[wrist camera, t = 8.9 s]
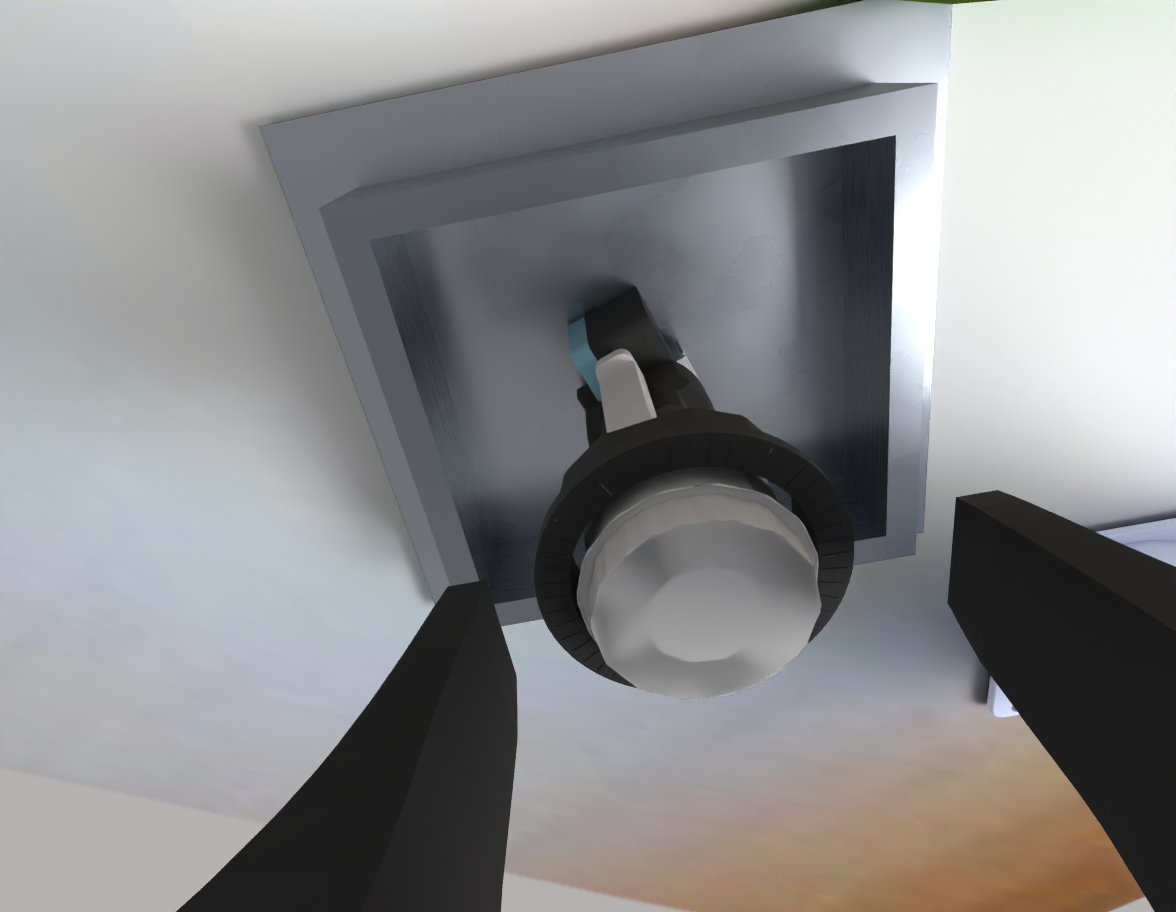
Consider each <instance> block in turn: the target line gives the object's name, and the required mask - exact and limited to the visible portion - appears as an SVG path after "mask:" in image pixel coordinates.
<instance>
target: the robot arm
mask: <svg viewBox="0 0 1176 912" xmlns="http://www.w3.org/2000/svg"><path fill="white" fill-rule="evenodd" d="M948 604H949V606H950V608H951V610H952V612H953V614H954V616H955V617H956V619H957V621H958V623H959V625H960V627H961V629H962V630H963V632H964V634H965V636H966V638H967V639H968V641H969V643H970V644H971V646H972V648H973V650H974V651H975V653H976V655H977V656H978V658H979V660H980V662H981V663H982V664H983V666H984V667H985V668H986V670H987V671H988V673H989V674H990V675H991V676H990V684H989V692H988V700H987V707H988V709H989V710H990V711H991V713H992V714H993V715H994V716H996V717H1008V716H1014V715H1020V716H1021V717H1022V718H1023V720H1024V721H1025V722H1026V724H1027V725H1028V726H1029V728H1030V729H1031V730H1032V732H1033V733H1034V734H1035V736H1036V737H1037V738H1038V740H1039V741H1040V742H1041V744H1042V745H1043V746H1044V748H1045V749H1046V750H1047V752H1048V753H1049V754H1050V756H1051V757H1052V758H1053V760H1054V761H1055V762H1056V764H1057V765H1058V766H1059V768H1060V769H1061V770H1062V771H1063V773H1064V774H1065V775H1066V777H1067V778H1068V779H1069V781H1070V782H1071V783H1072V785H1073V786H1074V787H1075V789H1076V790H1077V791H1078V793H1079V794H1080V795H1081V797H1082V798H1083V800H1084V801H1085V803H1086V804H1087V805H1088V807H1089V808H1090V810H1091V811H1092V813H1093V814H1094V815H1095V817H1096V818H1097V820H1098V821H1099V823H1100V824H1101V826H1102V827H1103V828H1104V830H1105V832H1106V833H1107V835H1108V836H1109V838H1110V840H1111V841H1112V843H1113V845H1114V846H1115V848H1116V849H1117V851H1118V853H1119V854H1120V856H1121V858H1122V859H1123V861H1124V862H1125V864H1126V866H1127V867H1128V869H1129V871H1130V872H1131V874H1132V875H1133V877H1134V879H1135V880H1136V882H1137V883H1138V885H1139V887H1140V888H1141V890H1142V892H1143V893H1144V895H1145V896H1146V898H1147V900H1148V901H1149V903H1150V905H1151V906H1152V908H1153V910H1154V911H1155V912H1176V518H1173V519H1167V520H1161V521H1155V522H1149V523H1144V524H1138V525H1132V526H1126V527H1121V528H1115V529H1109V530H1103V531H1097V532H1094V531H1092V530H1090V529H1088V528H1085V527H1083V526H1081V525H1079V524H1076V523H1074V522H1072V521H1070V520H1067V519H1065V518H1063V517H1061V516H1058V515H1056V514H1054V513H1052V512H1049V511H1047V510H1045V509H1043V508H1040V507H1038V506H1036V505H1033V504H1031V503H1029V502H1026V501H1024V500H1022V499H1019V498H1017V497H1014V496H1012V495H1009V494H1006V493H1004V492H1001V491H998V490H996V491H990V492H984V493H978V494H973V495H967V496H961V497H956V505H955V518H954V530H953V543H952V555H951V568H950V580H949V593H948ZM516 748H517V679H516V673H515V670H514V666H513V663H512V660H511V657H510V654H509V651H508V647H507V644H506V641H505V638H504V635H503V631H502V628H501V625H500V622H499V619H498V616H497V612H496V609H495V606H494V603H493V600H492V597H491V593H490V590H489V587H488V584H487V581H486V580H482V581H476V582H470V583H465V584H459V585H453V586H448V587H447V588H446V590H445V591H444V593H443V594H442V595H441V597H440V598H439V600H438V601H437V603H436V604H435V606H434V608H433V609H432V611H431V612H430V614H429V615H428V617H427V618H426V620H425V621H424V623H423V625H422V626H421V628H420V629H419V631H418V632H417V634H416V635H415V637H414V638H413V640H412V642H411V643H410V645H409V646H408V648H407V649H406V651H405V652H404V654H403V655H402V657H401V658H400V660H399V661H398V662H397V664H396V665H395V667H394V668H393V670H392V671H391V673H390V674H389V676H388V677H387V678H386V680H385V681H384V683H383V684H382V686H381V687H380V689H379V690H378V691H377V693H376V694H375V696H374V697H373V698H372V700H371V701H370V703H369V704H368V705H367V706H366V708H365V709H364V710H363V712H362V713H361V714H360V716H359V717H358V718H357V720H356V721H355V722H354V724H353V725H352V726H351V728H350V729H349V730H348V731H347V733H346V734H345V735H344V737H343V738H342V739H341V741H340V742H339V743H338V745H337V746H336V747H335V748H334V750H333V751H332V752H331V753H330V754H329V756H328V757H327V758H326V759H325V761H324V762H323V763H322V764H321V765H320V767H319V768H318V769H317V770H316V771H315V772H314V774H313V775H312V776H311V777H310V778H309V779H308V780H307V781H306V783H305V784H304V785H303V786H302V787H301V788H300V789H299V790H298V791H297V793H296V794H295V795H294V796H293V797H292V798H291V799H290V800H289V801H288V803H287V804H286V805H285V806H284V807H283V808H282V809H281V810H280V811H279V812H278V813H277V814H276V815H275V817H274V818H273V819H272V820H271V821H270V822H269V823H268V824H267V825H266V826H265V827H264V828H263V829H262V830H261V831H260V832H259V833H258V834H257V835H256V836H255V837H254V838H253V839H252V840H251V841H250V842H249V843H248V844H247V845H246V846H245V847H244V848H243V849H242V850H241V851H240V852H239V853H238V854H236V855H235V856H234V857H233V858H232V859H231V860H230V861H229V862H228V863H227V864H226V865H225V866H224V868H223V869H221V870H220V871H219V872H218V873H217V874H216V876H214V877H213V878H212V879H211V880H210V881H209V882H208V883H207V884H206V885H205V886H204V887H203V888H202V889H201V890H200V891H198V892H197V893H196V894H195V895H194V896H193V897H192V898H191V899H190V900H188V901H187V902H186V903H185V904H184V905H183V906H182V907H181V908H180V909H179V910H177V911H176V912H501V899H502V885H503V875H504V866H505V856H506V847H507V837H508V827H509V818H510V808H511V799H512V789H513V779H514V769H515V759H516Z"/></svg>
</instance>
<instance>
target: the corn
mask: <svg viewBox="0 0 1176 912" xmlns="http://www.w3.org/2000/svg"><path fill="white" fill-rule="evenodd" d="M900 1H914V2H927V3H941V4H958V3H970V2H982V1H995V0H900Z"/></svg>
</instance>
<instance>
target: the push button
mask: <svg viewBox="0 0 1176 912" xmlns="http://www.w3.org/2000/svg"><path fill="white" fill-rule="evenodd" d="M567 332H568V335H569V350H570V355H571V357H572V359H573V362H574V363H575V365H576V367H577V369H578V370H579V372H580V373H581V375H582V376H583V378H584V379H585V381H586V383H587V384H585V385H584V386H582V387H580V388H578V389H577V400H578V401H579V403H580V404H581V406H582V407H583V409H584V410H585V411H584V413H585V414H586V429H587V439H588V444H589V448H588V449H587V450H586V451H585V452H584V453H583V454H582V455H581V456H580V457H579V458H578V459H577V460H576V461H575V462H574V463H573V464H572V465H571V466H570V467H569V468H568V470H567V471H566V472H565V474H564V477H563V481H562V485H561V490H560V493H559V494H558V495H557V497H556V498H555V500H554V502H553V503H552V505H551V506H550V508H549V510H548V512H547V514H546V516H545V518H544V521H543V523H542V526H541V529H540V532H539V535H538V539H537V544H536V549H535V562H534V585H535V593H536V598H537V603H538V606H539V609H540V612H541V615H542V617H543V619H544V621H545V623H546V625H547V627H548V629H549V630H550V632H551V633H552V635H553V636H554V638H555V639H556V640H557V641H558V643H559V644H560V645H561V646H562V647H563V648H564V650H566V651H567V652H568V653H569V654H570V655H571V656H572V657H573V658H574V659H576V660H577V661H578V662H580V663H581V664H582V665H584V666H585V667H587V668H588V669H590V670H592V671H594V672H595V673H597V674H599V675H601V676H603V677H605V678H608V679H610V680H612V681H615V682H618V683H621V684H624V685H627V686H631V687H635V688H638V689H641V690H644V691H645V692H650V693H656V694H661V695H665V696H669V697H673V698H677V699H681V700H687V699H695V700H701V699H705V698H710V697H718V696H728V695H732V694H735V693H737V692H739V691H741V690H744V689H748V688H753V687H755V686H756V685H757V684H759V683H760V682H762V681H764V680H766V679H769V678H771V677H773V676H775V675H776V674H777V673H778V672H779V671H780V670H781V669H782V668H783V667H784V666H785V665H786V664H787V663H789V662H790V661H791V660H793V659H794V658H796V657H797V656H798V655H799V653H800V651H801V650H802V649H803V648H804V647H805V646H806V645H807V644H808V643H809V642H810V641H811V640H812V639H813V638H814V637H815V636H816V635H817V634H818V633H819V632H820V631H821V630H822V629H823V627H824V626H825V625H826V624H827V622H828V621H829V620H830V618H831V617H832V615H833V614H834V612H835V611H836V609H837V608H838V606H839V604H840V602H841V600H842V598H843V596H844V594H845V592H846V589H847V586H848V584H849V581H850V577H851V573H852V569H853V561H854V536H853V529H852V524H851V521H850V517H849V514H848V512H847V509H846V507H845V505H844V503H843V500H842V499H841V497H840V496H839V494H838V492H837V491H836V489H835V488H834V486H833V485H832V483H831V482H830V480H829V479H828V478H827V476H826V475H825V474H824V473H823V472H822V470H821V469H820V468H819V467H818V466H817V465H816V464H815V463H814V462H813V461H812V460H811V459H810V458H809V457H808V456H807V455H805V454H804V453H802V452H801V451H800V450H798V449H797V448H796V447H794V446H792V445H791V444H789V443H787V442H785V441H783V440H782V439H780V438H777V437H775V436H772V435H770V434H768V433H765V432H763V431H761V430H760V429H759V428H758V427H757V426H756V425H755V424H753V423H752V422H751V421H750V420H749V419H748V418H746V417H744V416H742V415H738V414H732V413H726V412H720V411H715V409H714V407H713V405H712V402H711V400H710V399H709V397H708V395H707V393H706V391H705V389H704V387H703V385H702V384H701V382H700V380H699V378H698V376H697V374H696V372H695V370H694V368H693V366H692V364H691V362H690V361H689V359H688V357H687V355H686V353H685V352H684V350H683V348H682V346H681V344H680V343H679V341H678V339H677V340H675V341H676V344H677V346H678V348H679V350H680V352H681V354H682V357H681V358H680V359H678V360H676V361H675V360H674V358H673V356H672V354H671V352H670V350H669V349H668V347H667V345H666V343H665V340H664V338H663V336H662V334H661V332H660V330H659V328H658V326H657V324H656V322H655V320H654V318H653V316H652V314H651V312H650V310H649V308H648V306H647V304H646V303H645V301H644V299H643V297H642V296H641V294H640V292H639V290H638V289H637V287H636V286H634V287H633V288H631V289H629V290H628V291H626V292H624V293H623V294H621V295H619V296H617V297H616V298H614V299H612V300H611V301H609V302H607V303H606V304H604V305H602V306H601V307H599V308H597V309H595V310H594V311H592V312H590V313H589V314H587V315H585V316H584V317H583V318H581V319H579V320H578V321H576V322H574V323H573V324H571V325H569V326H567ZM766 479H767V480H768V481H770V482H772V483H774V484H776V485H778V486H779V487H780V488H782V489H783V490H784V491H786V492H787V493H788V494H790V497H791V505H792V513H791V512H790V511H789V510H787V509H786V508H785V507H783V506H782V505H781V504H779V502H778V500H777V498H776V496H775V494H774V493H773V491H772V489H771V487H770V485H769V483H768V481H767V480H766ZM583 531H584V537H585V551H586V555H585V557H584V559H583V562H582V566H581V571H580V569H579V567H578V565H577V564H576V562H575V560H574V557H573V553H574V550H575V547H576V545H577V542H578V540H579V538H580V537H581V535H582V533H583Z"/></svg>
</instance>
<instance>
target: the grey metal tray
mask: <svg viewBox="0 0 1176 912" xmlns="http://www.w3.org/2000/svg"><path fill="white" fill-rule="evenodd" d="M951 19H952V4H941V3H927V2H914V1H900V0H864V1H859V2H854V3H849V4H845V5H840V6H835V7H830V8H825V9H821V10H816V11H811V12H806V13H801V14H797V15H792V16H787V17H782V18H777V19H773V20H768V21H763V22H758V23H754V24H749V25H744V26H739V27H734V28H730V29H725V30H720V31H715V32H710V33H706V34H701V35H696V36H691V37H686V38H682V39H677V40H672V41H667V42H663V43H658V44H653V45H648V46H643V47H639V48H634V49H629V50H624V51H619V52H615V53H610V54H605V55H600V56H595V57H591V58H586V59H581V60H576V61H572V62H567V63H562V64H557V65H552V66H548V67H543V68H538V69H533V70H528V71H524V72H519V73H514V74H509V75H504V76H500V77H495V78H490V79H485V80H480V81H476V82H471V83H466V84H461V85H457V86H452V87H447V88H442V89H437V90H433V91H428V92H423V93H418V94H413V95H409V96H404V97H399V98H394V99H389V100H385V101H380V102H375V103H370V104H366V105H361V106H356V107H351V108H346V109H342V110H337V111H332V112H327V113H322V114H318V115H313V116H308V117H303V118H298V119H294V120H289V121H284V122H279V123H275V124H270V125H265V126H260V130H261V132H262V135H263V138H264V141H265V143H266V146H267V149H268V151H269V154H270V157H271V160H272V162H273V165H274V168H275V171H276V173H277V176H278V179H279V181H280V184H281V187H282V190H283V192H284V195H285V198H286V200H287V203H288V206H289V209H290V211H291V214H292V217H293V219H294V222H295V225H296V228H297V230H298V233H299V236H300V238H301V241H302V244H303V247H304V249H305V252H306V255H307V257H308V260H309V263H310V266H311V268H312V271H313V274H314V276H315V279H316V282H317V285H318V287H319V290H320V293H321V296H322V298H323V301H324V304H325V306H326V309H327V312H328V315H329V317H330V320H331V323H332V325H333V328H334V331H335V334H336V336H337V339H338V342H339V344H340V347H341V350H342V353H343V355H344V358H345V361H346V363H347V366H348V369H349V372H350V374H351V377H352V380H353V382H354V385H355V388H356V391H357V393H358V396H359V399H360V401H361V404H362V407H363V410H364V412H365V415H366V418H367V421H368V423H369V426H370V429H371V431H372V434H373V437H374V440H375V442H376V445H377V448H378V450H379V453H380V456H381V459H382V461H383V464H384V467H385V469H386V472H387V475H388V478H389V480H390V483H391V486H392V488H393V491H394V494H395V497H396V499H397V502H398V505H399V507H400V510H401V513H402V516H403V518H404V521H405V524H406V526H407V529H408V532H409V535H410V537H411V540H412V543H413V546H414V548H415V551H416V554H417V556H418V559H419V562H420V565H421V567H422V570H423V573H424V575H425V578H426V581H427V584H428V586H429V589H430V592H431V594H432V597H433V600H434V603H435V604H436V603H437V601H438V600H439V598H440V597H441V595H442V594H443V593H444V591H445V590H446V588H447V587H448V586H453V585H459V584H465V583H470V582H476V581H482V580H486V581H487V584H488V587H489V590H490V593H491V597H492V600H493V603H494V606H495V609H496V612H497V616H498V619H499V622H500V625H501V626H505V625H511V624H517V623H522V622H528V621H534V620H540V619H543V617H542V615H541V612H540V609H539V606H538V603H537V598H536V593H535V585H534V562H535V549H536V544H537V539H538V535H539V532H540V529H541V526H542V523H543V521H544V518H545V516H546V514H547V512H548V510H549V508H550V506H551V505H552V503H553V502H554V500H555V498H556V497H557V495H558V494H559V493H560V490H561V485H562V481H563V477H564V474H565V472H566V471H567V470H568V468H569V467H570V466H571V465H572V464H573V463H574V462H575V461H576V460H577V459H578V458H579V457H580V456H581V455H582V454H583V453H584V452H585V451H586V450H587V449H588V448H589V444H588V439H587V429H586V414H585V413H584V411H585V410H584V409H583V407H582V406H581V404H580V403H579V401H578V400H577V389H578V388H580V387H582V386H584V385H585V384H587V383H586V381H585V379H584V378H583V376H582V375H581V373H580V372H579V370H578V369H577V367H576V365H575V363H574V362H573V359H572V357H571V355H570V350H569V335H568V332H567V326H569V325H571V324H573V323H574V322H576V321H578V320H579V319H581V318H583V317H584V316H585V315H587V314H589V313H590V312H592V311H594V310H595V309H597V308H599V307H601V306H602V305H604V304H606V303H607V302H609V301H611V300H612V299H614V298H616V297H617V296H619V295H621V294H623V293H624V292H626V291H628V290H629V289H631V288H633V287H634V286H636V287H637V289H638V290H639V292H640V294H641V296H642V297H643V299H644V301H645V303H646V304H647V306H648V308H649V310H650V312H651V314H652V316H653V318H654V320H655V322H656V324H657V326H658V328H659V330H660V332H661V334H662V336H663V338H664V340H665V343H666V345H667V347H668V349H669V350H670V352H671V354H672V356H673V358H674V360H675V361H676V360H678V359H680V358H681V357H682V354H681V352H680V350H679V348H678V346H677V344H676V341H675V340H677V339H678V341H679V343H680V344H681V346H682V348H683V350H684V352H685V353H686V355H687V357H688V359H689V361H690V362H691V364H692V366H693V368H694V370H695V372H696V374H697V376H698V378H699V380H700V382H701V384H702V385H703V387H704V389H705V391H706V393H707V395H708V397H709V399H710V400H711V402H712V405H713V407H714V409H715V411H720V412H726V413H732V414H738V415H742V416H744V417H746V418H748V419H749V420H750V421H751V422H752V423H753V424H755V425H756V426H757V427H758V428H759V429H760V430H761V431H763V432H765V433H768V434H770V435H772V436H775V437H777V438H780V439H782V440H783V441H785V442H787V443H789V444H791V445H792V446H794V447H796V448H797V449H798V450H800V451H801V452H802V453H804V454H805V455H807V456H808V457H809V458H810V459H811V460H812V461H813V462H814V463H815V464H816V465H817V466H818V467H819V468H820V469H821V470H822V472H823V473H824V474H825V475H826V476H827V478H828V479H829V480H830V482H831V483H832V485H833V486H834V488H835V489H836V491H837V492H838V494H839V496H840V497H841V499H842V500H843V503H844V505H845V507H846V509H847V512H848V514H849V517H850V521H851V524H852V529H853V536H854V561H853V565H857V564H863V563H869V562H875V561H880V560H886V559H892V558H898V557H904V556H909V555H915V545H916V533H922V532H923V530H924V511H925V493H926V475H927V457H928V438H929V420H930V402H931V384H932V365H933V347H934V329H935V311H936V292H937V274H938V256H939V238H940V219H941V201H942V183H943V165H944V146H945V128H946V110H947V92H948V73H949V55H950V37H951ZM766 480H767V479H766ZM767 481H768V480H767ZM768 483H769V485H770V487H771V489H772V491H773V493H774V494H775V496H776V498H777V500H778V502H779V504H781V505H782V506H783V507H785V508H786V509H787V510H789V511H790V512H791V513H792V505H791V497H790V494H788V493H787V492H786V491H784V490H783V489H782V488H780V487H779V486H778V485H776V484H774V483H772V482H770V481H768ZM585 555H586V551H585V537H584V531H583V533H582V535H581V537H580V538H579V540H578V542H577V545H576V547H575V550H574V553H573V557H574V560H575V562H576V564H577V565H578V567H579V569H580V571H581V566H582V562H583V559H584V557H585Z"/></svg>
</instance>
